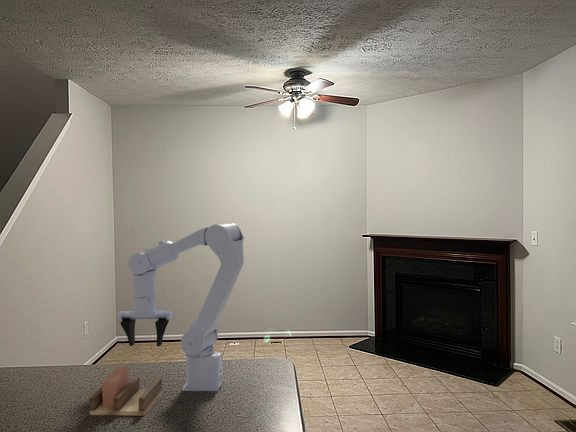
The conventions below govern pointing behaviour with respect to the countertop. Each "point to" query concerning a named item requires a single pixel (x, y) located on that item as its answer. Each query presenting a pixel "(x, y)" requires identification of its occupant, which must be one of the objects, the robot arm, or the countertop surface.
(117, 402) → the book rack
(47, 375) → the countertop surface
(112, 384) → the book
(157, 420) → the countertop surface
